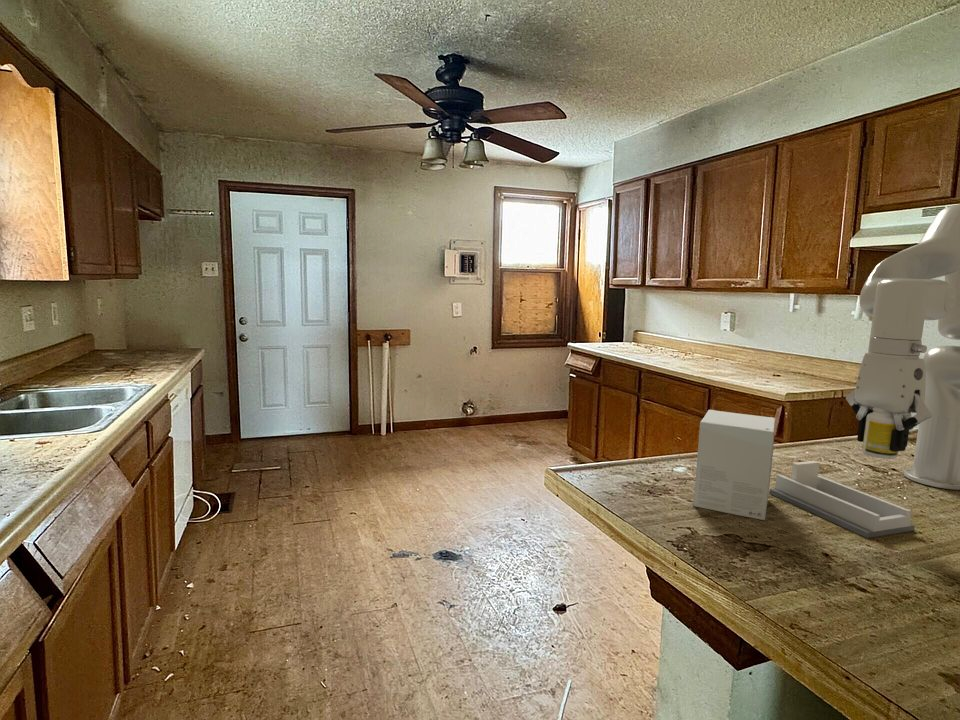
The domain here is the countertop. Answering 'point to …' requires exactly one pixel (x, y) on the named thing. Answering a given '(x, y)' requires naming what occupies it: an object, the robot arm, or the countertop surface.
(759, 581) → the countertop surface
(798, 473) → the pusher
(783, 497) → the lane
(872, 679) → the countertop surface
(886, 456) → the supplement bottle
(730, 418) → the supplement box
